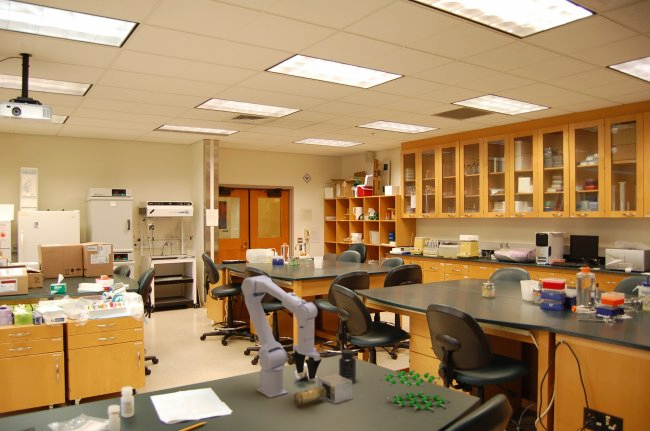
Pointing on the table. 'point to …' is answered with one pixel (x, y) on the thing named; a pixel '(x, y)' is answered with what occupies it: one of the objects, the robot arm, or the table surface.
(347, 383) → the housing
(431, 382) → the molecule models
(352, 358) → the supplement bottle
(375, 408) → the table surface
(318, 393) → the amber cylinder
